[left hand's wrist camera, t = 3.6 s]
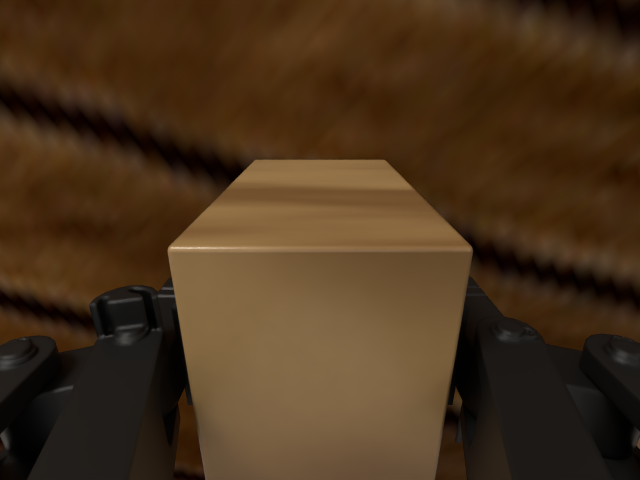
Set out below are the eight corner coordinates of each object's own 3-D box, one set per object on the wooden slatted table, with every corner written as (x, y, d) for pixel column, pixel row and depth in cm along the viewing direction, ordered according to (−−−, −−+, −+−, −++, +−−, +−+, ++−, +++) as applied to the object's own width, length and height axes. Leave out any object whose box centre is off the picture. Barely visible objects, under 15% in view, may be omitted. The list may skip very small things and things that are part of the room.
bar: (253, 159, 14) (164, 247, 6) (386, 159, 14) (476, 247, 6) (278, 531, 22) (254, 780, 14) (361, 531, 22) (385, 781, 14)
